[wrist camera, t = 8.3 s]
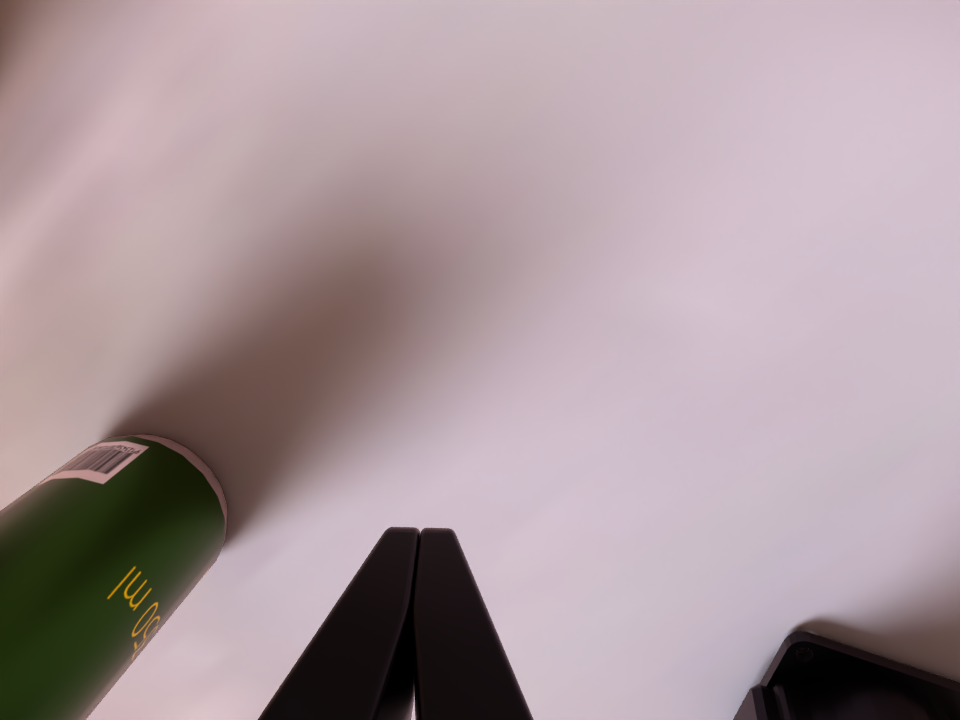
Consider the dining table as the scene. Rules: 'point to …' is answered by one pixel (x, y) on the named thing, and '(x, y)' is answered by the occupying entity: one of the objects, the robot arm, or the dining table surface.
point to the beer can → (99, 569)
